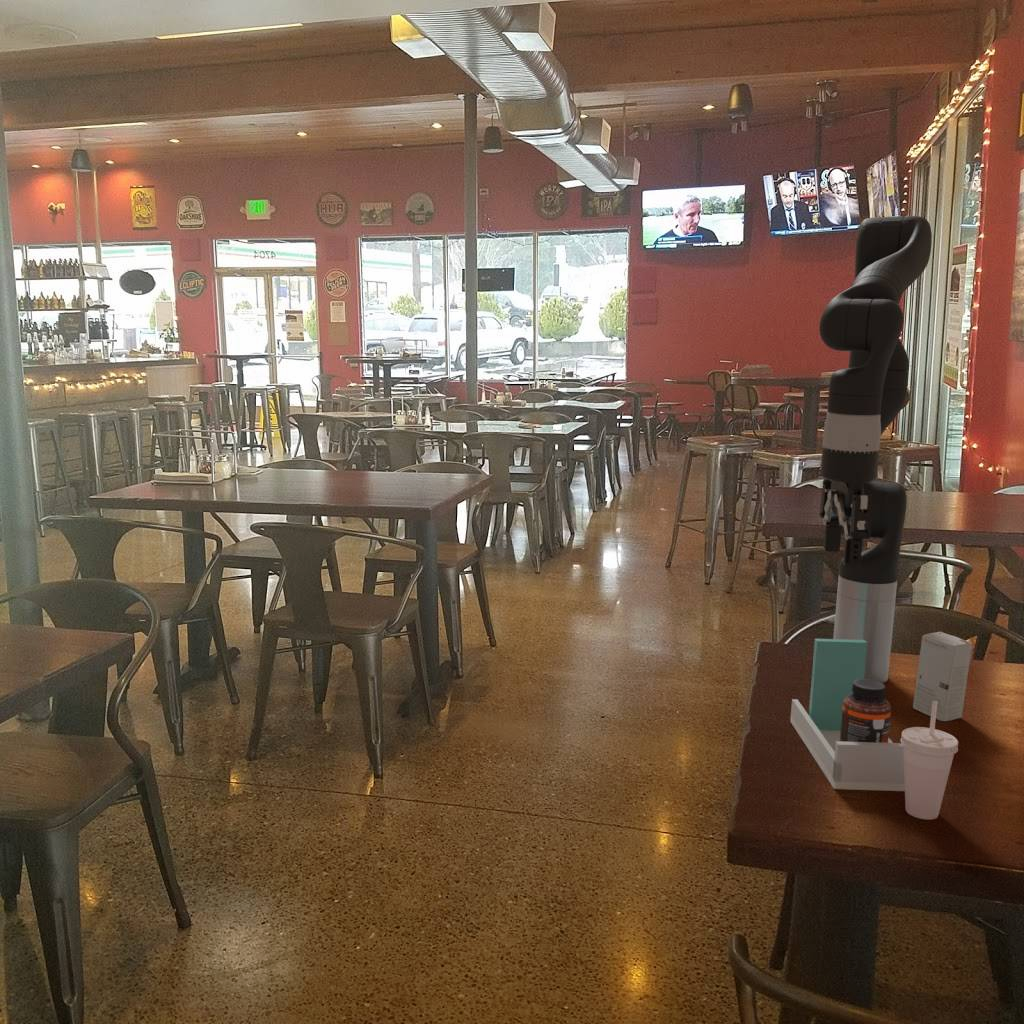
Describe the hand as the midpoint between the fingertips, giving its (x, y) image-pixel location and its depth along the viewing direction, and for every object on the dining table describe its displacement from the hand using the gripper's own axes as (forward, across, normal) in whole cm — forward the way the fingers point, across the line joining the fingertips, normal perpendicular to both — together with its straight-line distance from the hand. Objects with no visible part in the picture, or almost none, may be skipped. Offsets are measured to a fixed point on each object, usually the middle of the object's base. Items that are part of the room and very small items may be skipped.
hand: (841, 558), depth 142 cm
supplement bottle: (+24, -16, +1) cm, 29 cm away
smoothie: (+25, -27, -3) cm, 37 cm away
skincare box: (+26, +5, -19) cm, 32 cm away
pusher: (+24, -4, 0) cm, 24 cm away
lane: (+25, -10, +1) cm, 27 cm away
